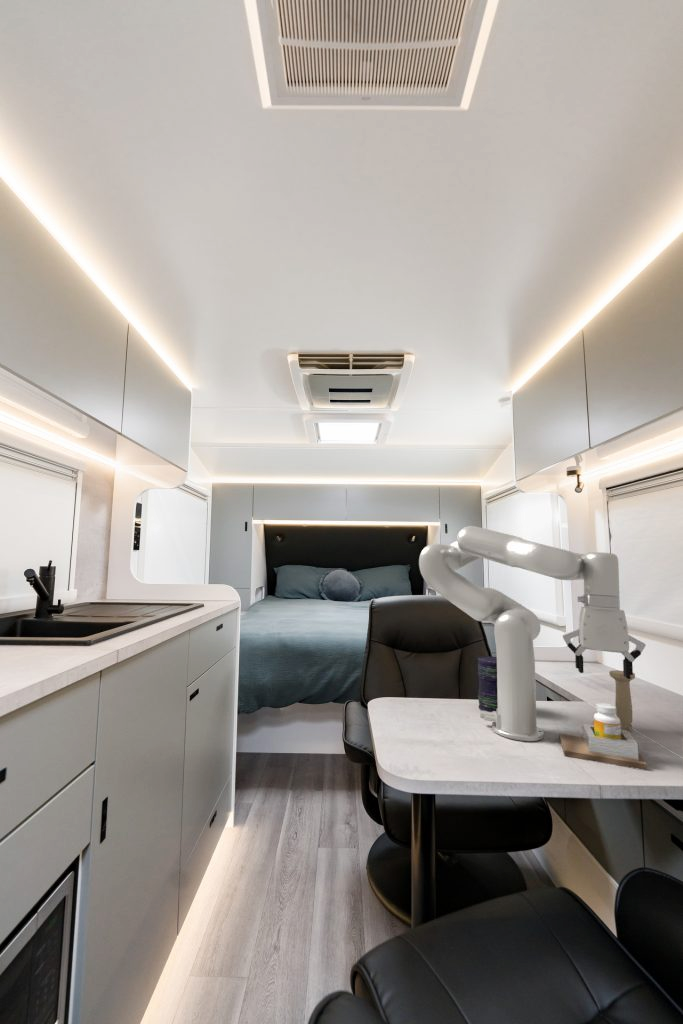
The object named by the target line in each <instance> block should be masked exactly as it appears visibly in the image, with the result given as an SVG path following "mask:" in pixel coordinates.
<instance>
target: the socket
mask: <svg viewBox="0 0 683 1024" xmlns="http://www.w3.org/2000/svg"><path fill="white" fill-rule="evenodd" d="M581 725H582V726H581V727H582V737H583V740H584V742H585V744H586V746H587V749H588V751H589V753H594V754H600V755H605V756H611V757H617V758H623V759H629V760H635V761H639V760H638V753H639V747H638V746H639V745H638V744H639V743H637V740H635V739H634V738H633V736H632V735H631V733H630V732H629V730H623V729H621V739H614V738H608V737H601V736H595V734H594V724H588V723H582V724H581Z"/></svg>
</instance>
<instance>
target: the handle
mask: <svg viewBox="0 0 683 1024" xmlns="http://www.w3.org/2000/svg"><path fill="white" fill-rule="evenodd" d="M609 677H611V678H612V679H613V680H614V681H615V703H614V706H615V707H616V714H615V715H616V716H617V717H618V718H619V719H620V725H621V729H622V730H627V731H631V730H632V728H633V704H632V696H631V686H630V682H631V681H633V680H635V678H636V674H635V672H633V675H630V679H627V678H626V677H625V676H624V674H623V670H616V669H615V670H609Z"/></svg>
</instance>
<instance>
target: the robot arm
mask: <svg viewBox="0 0 683 1024" xmlns="http://www.w3.org/2000/svg"><path fill="white" fill-rule="evenodd" d="M618 557H619V556H617V555H616V554H615V553H611V552H597V551H596V552H595V551H594V552H593V551H592V552H588V553H578V552H574V551H573V552H572V551H571V550H566V549H563V548H560V547H559V548H558V547H555V546H550V545H546V544H543V543H538V542H534V541H530V540H527V539H524V538H522V537H520V536H516V535H512V534H508V533H504V532H499V531H495V530H493V529H487V528H484V527H480V526H475V525H468V526H465V527H463V528H462V529H460V530H459V532H458V533H457V537H456V540H455V541H453V542H452V543H449V544H443V543H431V544H429V545H426V546H424V547H423V549H422V550H421V552H420V554H419V558H418V567H419V571H420V574H421V576H422V578H423V580H424V581H425V583H426V584H427V585H428V586H429V587H430V588H431V589H432V590H433V591H434V592H436V593H437V594H438V595H440V596H441V597H443V598H444V599H446V600H447V601H448V602H450V603H451V604H453V605H454V606H456V607H457V608H458V609H460V610H461V611H462V612H464V613H465V614H467V616H469V617H471V618H472V619H473V620H474V621H477V622H489V623H491V624H492V625H494V629H493V631H494V632H493V633H494V641H495V648H496V649H495V650H496V657H497V702H498V708H497V710H496V711H493V712H487V711H482V710H480V709H479V710H480V715H479V717H480V719H484V721H488V722H492V723H491V730H492V731H493V732H494V733H496V734H497V735H499V736H501V737H504V738H507V739H510V740H516V741H523V742H537V741H540V740H542V739H543V738H544V731H543V729H541V728H540V727H538V725H537V693H536V692H537V689H536V688H537V687H536V684H537V683H536V661H535V660H536V659H535V650H534V640H535V639H536V638H538V636H539V635H540V632H541V628H542V627H541V621H540V620H539V617H538V616H537V615H536V614H535V613H534V612H533V611H532V610H530V609H529V608H527V607H526V606H524V605H523V604H520V603H519V602H518V601H516V600H515V599H512V598H511V597H510V596H509V595H506V594H504V593H503V592H502V591H499V590H497V589H495V588H490V587H482V586H480V585H478V584H476V583H474V582H472V581H471V580H469V579H468V578H466V577H465V576H464V575H462V574H459V573H457V572H456V571H457V570H460V569H461V568H463V567H465V566H468V565H470V564H473V563H474V562H476V561H478V560H479V559H485V560H488V561H492V562H494V563H497V564H501V565H505V566H508V567H511V568H518V569H522V570H526V571H529V572H532V573H535V574H539V575H542V576H546V577H549V578H552V579H555V580H561V581H578V580H583V595H582V596H581V595H580V596H577V603H582V604H583V605H584V606H581V608H580V611H579V612H580V613H579V619H578V629H576V630H573V631H571V632H567V633H565V634H563V635H562V639H563V641H564V642H565V643H566V646H567V648H569V649H570V651H571V652H573V653H574V656H575V657H574V658H575V661H574V662H575V668H576V669H577V670H578V672H579V673H580V674H584V656H583V653H584V652H585V651H586V650H589V651H590V650H591V651H597V652H598V651H599V652H608V653H609V652H610V653H618V654H619V653H621V655H622V656H623V657H624V658H623V660H622V666H623V667H622V669H623V670H622V671H623V674H624V676H625V677H626V678H627V679H630V675H633V673H634V672H633V671H634V670H633V668H634V667H633V662H634V661H635V660H636V659H637V658H639V656H641V655H642V652H643V651H644V649H645V648H646V643H645V642H643V641H641V640H639V639H637V638H635V637H633V636H631V635H629V631H628V630H629V628H628V623H627V618H626V613H625V610H623V609H620V608H621V602H620V600H621V598H620V573H619V572H620V570H619V569H620V568H619V566H620V565H619V558H618ZM577 637H578V643H579V644H578V645H577V646H575V645H574V644H573V642H572V640H571V639H573V638H577ZM630 642H631V643H632V644H634V645H635V648H634V649H633V650H631V652H629V651H630V650H629V649H630Z"/></svg>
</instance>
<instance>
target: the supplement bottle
mask: <svg viewBox="0 0 683 1024" xmlns="http://www.w3.org/2000/svg"><path fill="white" fill-rule="evenodd" d="M615 706H616V705H613V704H610V703H603V702H598V703H596V711H597V712H595V713H594V714H593V725H594V734H595V736H601V737H608V738H614V739H621V725H620V719H619V718H618V717H617V716H616V707H615Z"/></svg>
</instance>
